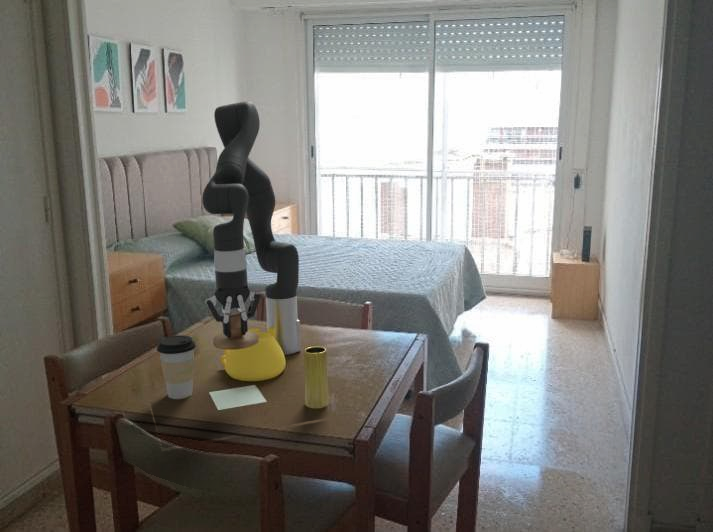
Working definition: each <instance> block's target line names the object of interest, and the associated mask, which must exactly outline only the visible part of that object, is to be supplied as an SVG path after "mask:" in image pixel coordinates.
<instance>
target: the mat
mask: <svg viewBox="0 0 713 532" xmlns="http://www.w3.org/2000/svg"><path fill="white" fill-rule="evenodd" d="M208 394H209V395H210V397H211V399H212V401H213V403H214V405H215V407H216V409H217V411H222V410H228V409H234V408H238V407H239V408H240V407H244V406H250V405H257V404H262V403H268V401H267V400H266V398H265V397H264V396H263V394H262V392H261V391H260V390H259V388H258V387H257V386H256V384H253V385H252V384H251V385H247V386H240V387H233V388H228V389H222V390H216V391H209V392H208Z"/></svg>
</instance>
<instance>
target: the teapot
mask: <svg viewBox="0 0 713 532" xmlns="http://www.w3.org/2000/svg"><path fill="white" fill-rule="evenodd" d="M248 331H252V332H255V333H257V334H258V337H259V341H258V343H257V344H255V345H253V346H251V347H248V348H243V349H236V350H226V349H222V350H223V352H224V354H223V355H222V356H221V359H220V360H221V361H220V362H221V363H222V364H223V365H224V369H225V372H226V373H227V375H228V376H230V378H232V379H234V380H237V381H241V382H261V381H266V380H271V379H273V378H276V377H278V376H280V374H282V373H283V371H284V370H285V367H286V357H285V356H286V355H284V353H283V351H282V349H281V347H280V345H279V344H278V342H277V341H276V327H270V328H268V331H267V330H266V331H267V332H266V331H265V332H264V331H261V329H260V328H253V327H252V328H250V329H248Z"/></svg>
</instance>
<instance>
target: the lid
mask: <svg viewBox="0 0 713 532" xmlns="http://www.w3.org/2000/svg"><path fill="white" fill-rule="evenodd" d="M228 322H229V324H230V337H228V338H227V336H225V335H224V333H223V332H222V333H219V334H217V335H214V337H213V339H212V340H213V347H215V348H217V349H221V350H223V349H226V350H236V349H243V348H248V347H251V346H253V345H255V344H257V343H258V341H259V337H258V334H257V333H255V332H252V331H247V332H246V335H242V323H241V314H240V313H239V312H230V314H229V320H228Z"/></svg>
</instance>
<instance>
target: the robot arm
mask: <svg viewBox="0 0 713 532" xmlns="http://www.w3.org/2000/svg"><path fill="white" fill-rule="evenodd" d="M258 112H259V111H258V110H257V108H256V106H255V104H254V103H253V102H252V101H240V102H234V103H230V104H225V105H221V106H217V107H216V108H215V109H214V113H213V114H214V123H215V126H216V129H217V133H218V135H219V138H220V141H221V143H222V146H223V148H224V149H223V150H222V151H221V152H220V154H219V156H218V159H217V163H216V167H215V168H216V169H215V172H214V174H213V175H212V177H211V178H210V179H209V182H208V183H207V184H206V186H205V187H204V189H203V192H202V200H201V201H202V206H203V208H204V210H205V211H206V212H207V213H209V214H211V215H229V214H230V215H233V216H232V219H231V220H230V221H227V222H224V223H223V222H222V223H220V224H217V225H215V226H214V227H213V230H212V231H213V232H212V234H213V245H214V246H213V249H214V253H213V254H214V256H213V257H214V258H213V259H214V260H213V264H214V274H215V285H216V286H215V287H216V288H215V289H216V290H215V292H214V295H213V296H211V297H209V298H208V297H207V298H205V300H204V302H205V305H206V306H207V308H208V309H209V311H210V313H211V316H212V317H213V319H214V320H215V321H216V322H217V323H221V324H222V333H224V335H225V336H227V338H228V337H230V324H229V322H228V320H229V314H231V309H237V310H238V313H240V314H241V323H242V335H246V332H247V331H248V330H249V329H248V328H249V327H248V319H251V318H253V317H255V315H256V311H257V308H258V305H259V303H260V300H261V294H260V293H259V292H257V291H251V290H250V288H249V286H248V271H247V268H248V267H247V265H248V262H247V257H246V256H247V255H246V252H245V242H244V240H245V239H244V226H245V217H247V220H248V225H249V227H250V231H251V234H252V235H251V236H252V239H253V244H254V249H255V254H256V259H257V261H258V262H257V263H258V264H259V266H260V268H261V269H262V270H263V271H265V272H267V273H270V274H271V273H273V274H276V282H274V283H270V284H269V285H267V286H266V287H265V291H264V292H265V309H266V328H267V329H266V331H268V328H270V327H276V341H277V342H278V344H279V345H280V347H281V349H282V351H283V353H284V356H288V355H292V354H295V353H297V352H302V349H301V347H302V344H301V343H302V342H301V321H300V320H299V318H298V297H297V296H298V294H297V293H298V292H297V291H298V287H299V282H300V281H299V277H300V275H299V274H300V273H299V272H300V269H299V267H300V259H299V258H300V257H299V252H298V248H297V247H296V246H295V245H294V244H292V243H289V242H280V241H276V239H275V236H274V234H273V230H272V223H271V222H272V218H273V215H274V212H275V208H276V195H275V192H274V188H273V185H272V182H271V179H270V177H269V175H268V174H267V173H266V172H265V171H264V170H263V169H262V168H261V167H259V165H258V164H256V162H254V160H252V159H251V158H250V157H249V156H250V153H251V151H252V149H253V147H254V145H255V142H256V139H257V137H258V134H259V130H260V125H261V124H260V123H261V122H260V116H259V113H258ZM248 298H249V300H250V303H249V305H248V309H247V311H246V306H245V303H246V302H247V300H248ZM216 301H218V302H219V303H220V305H221V306H222V307H221V315H219V313H218V311H217V309H216V307H215V306H216V305H217V302H216Z"/></svg>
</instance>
